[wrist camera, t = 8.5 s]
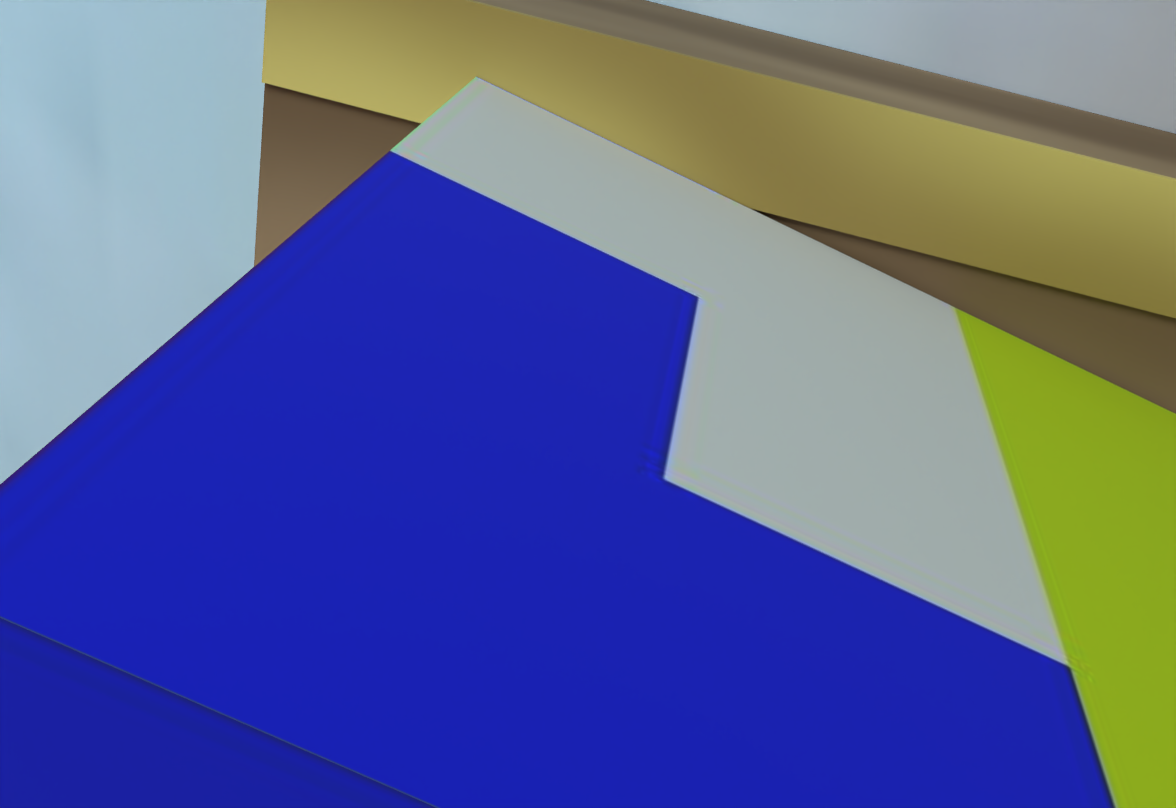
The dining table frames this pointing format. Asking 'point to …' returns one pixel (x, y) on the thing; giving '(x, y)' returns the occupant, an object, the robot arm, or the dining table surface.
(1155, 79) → the dining table surface
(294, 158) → the dock
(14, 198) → the dining table surface
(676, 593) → the puzzle toy
